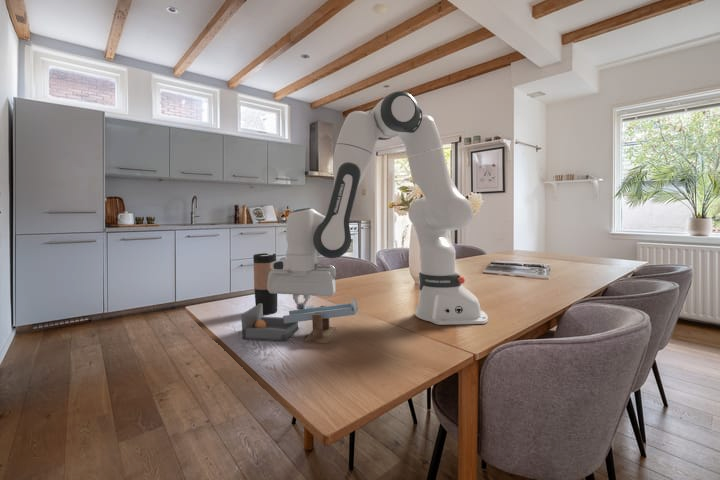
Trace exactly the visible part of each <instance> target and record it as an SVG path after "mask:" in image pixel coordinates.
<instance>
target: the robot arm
mask: <svg viewBox="0 0 720 480" xmlns="http://www.w3.org/2000/svg"><path fill="white" fill-rule="evenodd" d="M395 137H398V138H400V140H401V141H402V143H403V145H404V146H405V152H406V157H407V161H408V166H409V169H410V174H411V179H412V181H413V183H414V184H415V185H416V186H417V187H418V188H419V190H420V191H421V192H422V194H423V196H422V197H420V198H418V199H416V200H414V201H413V202H412V203H410V205H409V207H408V211H407V212H408V213H407V214H408V215H407V216H408V219H409V221H410V222H411V224H412V225H413V227H414V229H415V230H414V231H416V232H415V233H416V236H417V239H418V245H419V253H420V255H419V256H420V265H419V266H420V272H419V273H418V288H419V289H418V290H419V294H418V302H417V307H416V311H415V314H414V315H415V317H417V318H418V319H421V320H423V321H427V322H430V323H432V324H435V325H439V326H441V325H444V326H445V325H446V326H449V325H480V324H482V325H484V324H486V323H487V322H489V317H488V314H487V312H485V311H483V310H482V309H481V305H480V301H479V298H477V296H476V295H475V294H474V293H472V292H471V291H470V290H468V289H467V288H466V287H465V286H464V285H462V284H465V282H466V278H464V276H463V275H460V274H459V273H457V272H456V266H457V264H456V263H457V262H456V261H457V260H456V259H457V257H456V255H457V254H456V253H457V251H456V249H455V246H454V245H453V244H452V243H451V240H450V238H449V235H448V232H453V231H458V230H461V229H464V228H466V227H467V226H469V224H470V223H471V221H472V219H473V215H474V209H473V206H472V203H471V201H470V200H469V199H468V198H466V197H465V196H464V195H463V194H462V193H461V192H460V190H459V189H458V188H457V186H456V184H455V182H454V181H453V179H452V177H451V174H450V172H449V168H448V164H447V159H446V156H445V151H444V147H443V142H442V138H441V135H440V132H439V129H438V126H437V125H436V122H435V120H434V118H433V117H432V116H430V115H428V114H423V110H422V109H421V108H420V107H419V104H418V102H417V101H416V98H415V97H414V96H412V94H411V93H409V92H406V91H402V90H401V91H399V90H398V91H393V92H391V93H389V94H388V95H386V97H383V98H382V99H381V100H380V101H379V102H377V104H376V105H375V106H374V107H373V108H372V109H371V110H370V111H369V112H366V111H362V110H354V111H352V112H350V113H348V114H347V116H346V117H345V119H344V122H343V124H342V126H341V128H340V131H339V134H338V137H337V140H336V143H335V148H334V152H333V159H332V173H333V188H332V192H331V197H330V201H329V204H328V208H327V212H326V215H323V214H322V213H320V212H318V211H316V210H315V209H314V208H312V207H307V208H306V207H305V208H300V209H295V210H294V209H293V210H292V211H291V212H290V213H289V214H288V216H287V219H286V227H285V231H286V232H285V238H286V239H285V240H286V244H287V246H286V247H287V248H286V252H285V256H286V257H282V258H280V259H276V261H274V262H272V263H271V264H270V268H271V269H272V270H271V271H270V272H269V275H268V283H267V289H268V291H269V293H273V294H277V295H292V299H293V300H294V302H295V304H296V310H299V309H306V306H308V305H307V303H308V301H309V300H310V298H311V296H316V297H318V296H319V297H332V296H333V295H335V293H336V292H337V291H336V279H335V278H336V277H337V271H336V268H335V267H334V265H332V264H330V263H326V264H324V263H317V260H318V259H317V256H318V254H320V255H321V256H322V257H324V258H328V259H338V258H340V257H342V256H343V255H345V254H346V253H347V252H348V250H349V249H350V247H351V244H352V234H351V229H350V219H351V215H352V211H353V208H354V203H355V199H356V195H357V191H358V189H359V187H360V184H361V183H362V181H363V179H364V178H365V176H366V174H367V172H368V169H369V166H370V164H371V161H372V157H373V153H374V150H375V145H376V143H377V141H379V140H380V141H386V140H390V139H392V138H395ZM317 253H318V254H317ZM300 296H303V299H304V300H303V302H301V300H300V299H299V297H300Z"/></svg>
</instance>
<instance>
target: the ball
mask: <svg viewBox="0 0 720 480" xmlns="http://www.w3.org/2000/svg"><path fill="white" fill-rule="evenodd" d="M254 327H255V328H265V327H266V323H265V321H264V320H257V321H256V322H255V324H254Z"/></svg>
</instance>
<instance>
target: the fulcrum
mask: <svg viewBox="0 0 720 480" xmlns="http://www.w3.org/2000/svg"><path fill="white" fill-rule="evenodd" d="M324 306H325V305H321V306H319V307H324ZM311 322H312V324H311V325H312V331H311V332H310V333H309V334H308V335H307V337H305V343H314V344H315V343H316V344H317V343H318V344H328V343H329V341H330V340H331V339H332V337H333V336H334V334H335V332H336V331H337V327H336V326H330V318H325V319H322V314H313V315H312V320H311Z"/></svg>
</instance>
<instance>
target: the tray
mask: <svg viewBox="0 0 720 480" xmlns="http://www.w3.org/2000/svg"><path fill="white" fill-rule="evenodd" d="M240 316H241V335H242V337H241V338H242V340H243V341H244V340H245V341H246V340H247V341H249V340H250V341H265V342H266V341H267V342H285V341H287V339H289V338H290V337H291V336H292V335H293V334H294V333H295V332H296V330H298V329H299V322H292V323H284V320H283V316H282V317H280V316H264V315H263V304H258V305H254V306H253V307H251V308H250V309H248V310H246V311H244V312H243V313H241V315H240ZM257 320H264V321H265V323H266V327H265V328H255V327H254V324H255V322H256V321H257Z"/></svg>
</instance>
